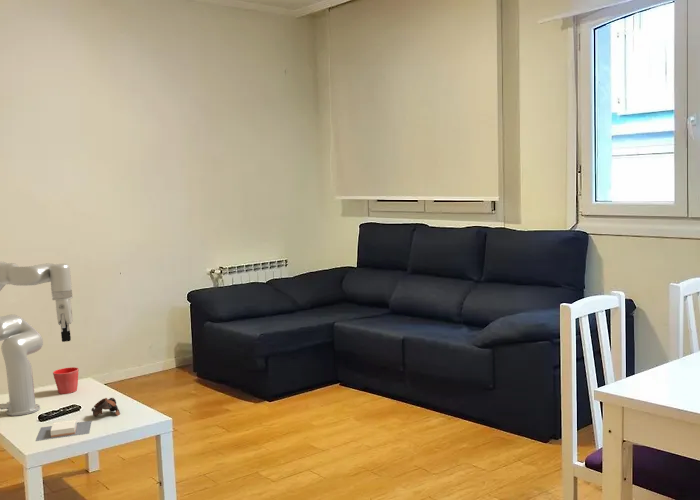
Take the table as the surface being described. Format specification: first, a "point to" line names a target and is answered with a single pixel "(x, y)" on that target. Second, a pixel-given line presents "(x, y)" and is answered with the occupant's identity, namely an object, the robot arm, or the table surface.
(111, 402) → the broken clay vessel
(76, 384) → the flower pot
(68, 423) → the tile
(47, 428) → the mat
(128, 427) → the table surface
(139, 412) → the table surface
